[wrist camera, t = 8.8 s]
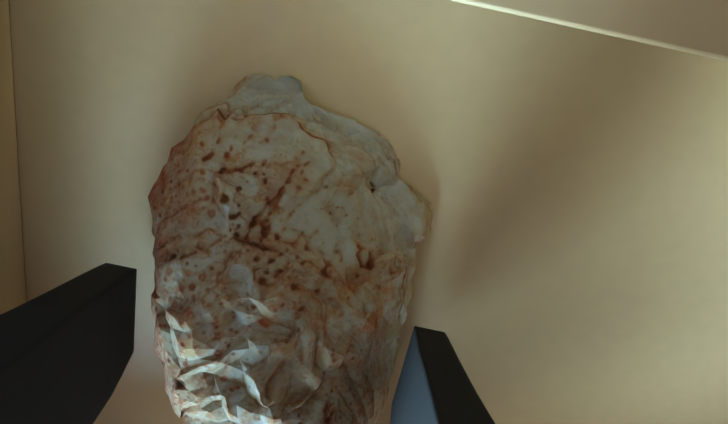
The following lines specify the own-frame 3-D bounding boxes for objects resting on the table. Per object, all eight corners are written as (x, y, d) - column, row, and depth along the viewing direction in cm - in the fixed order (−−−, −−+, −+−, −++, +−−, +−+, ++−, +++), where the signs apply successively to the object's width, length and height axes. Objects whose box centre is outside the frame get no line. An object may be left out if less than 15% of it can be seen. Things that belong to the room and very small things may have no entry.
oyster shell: (221, 425, 16) (391, 493, 15) (126, 539, 13) (330, 640, 12) (212, 45, 12) (456, 89, 10) (63, 81, 9) (384, 152, 7)
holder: (20, 482, 16) (-73, 613, 13) (-31, -178, 10) (-245, -233, 6) (706, 616, 17) (776, 774, 14) (1113, 77, 10) (1435, 142, 7)
